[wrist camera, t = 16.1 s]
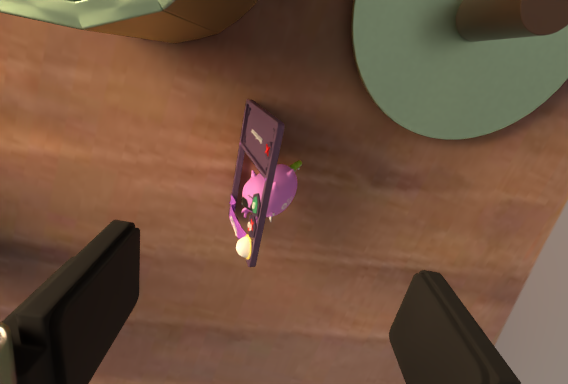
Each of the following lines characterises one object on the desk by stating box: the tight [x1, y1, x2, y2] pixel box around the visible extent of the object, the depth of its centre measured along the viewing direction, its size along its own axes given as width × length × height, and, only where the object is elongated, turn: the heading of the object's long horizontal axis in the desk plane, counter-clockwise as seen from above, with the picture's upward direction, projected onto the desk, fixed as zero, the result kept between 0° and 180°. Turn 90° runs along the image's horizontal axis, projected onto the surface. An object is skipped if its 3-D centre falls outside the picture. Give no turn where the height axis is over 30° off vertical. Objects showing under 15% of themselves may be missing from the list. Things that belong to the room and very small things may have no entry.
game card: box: [229, 99, 302, 267], centre depth 21 cm, size 7×5×9 cm
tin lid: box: [351, 0, 568, 140], centre depth 16 cm, size 15×15×7 cm
